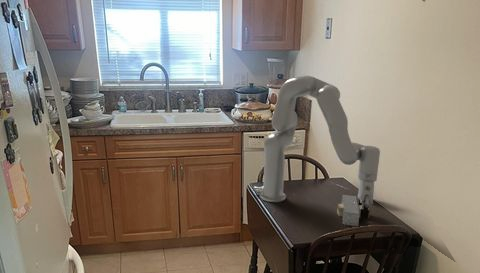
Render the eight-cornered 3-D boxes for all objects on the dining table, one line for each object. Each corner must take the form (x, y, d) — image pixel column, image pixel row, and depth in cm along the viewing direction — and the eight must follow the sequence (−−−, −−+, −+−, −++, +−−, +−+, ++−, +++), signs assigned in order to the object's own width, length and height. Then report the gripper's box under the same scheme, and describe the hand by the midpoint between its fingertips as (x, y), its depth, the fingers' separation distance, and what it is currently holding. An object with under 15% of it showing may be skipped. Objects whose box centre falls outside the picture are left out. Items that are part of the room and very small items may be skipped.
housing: (342, 224, 153) (344, 211, 152) (341, 206, 171) (342, 194, 170) (357, 226, 152) (359, 213, 151) (354, 207, 170) (356, 196, 169)
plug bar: (338, 216, 161) (339, 207, 160) (336, 212, 165) (337, 203, 164) (369, 218, 160) (370, 209, 159) (366, 214, 164) (367, 205, 163)
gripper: (379, 183, 147) (374, 223, 151) (374, 170, 164) (369, 206, 168) (359, 181, 149) (355, 220, 153) (356, 168, 165) (352, 204, 169)
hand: (363, 213), depth 160 cm, fingers open, 9 cm apart
